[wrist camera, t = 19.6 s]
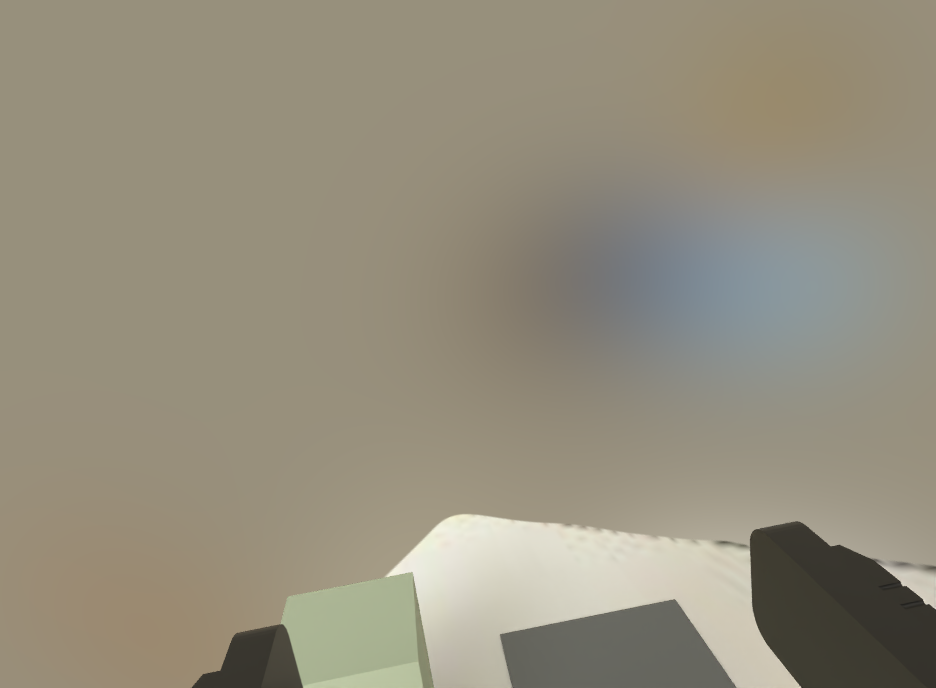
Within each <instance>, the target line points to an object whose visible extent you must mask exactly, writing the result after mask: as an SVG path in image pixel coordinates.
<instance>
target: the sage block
mask: <svg viewBox="0 0 936 688" xmlns="http://www.w3.org/2000/svg"><path fill="white" fill-rule="evenodd" d="M281 624H283V625H284V626H285V627H286V629H287V631H288V634H289V638H290V641H291V645H292V649H293V652H294V656H295V660H296V663H297V667H298V671H299V674H300V678H301V682H302V685H303V688H434V686H433V681H432V675H431V670H430V664H429V659H428V653H427V648H426V642H425V637H424V632H423V626H422V621H421V615H420V610H419V604H418V599H417V594H416V588H415V583H414V577H413V572H411V573H405V574H400V575H395V576H390V577H385V578H380V579H375V580H370V581H366V582H361V583H355V584H350V585H345V586H340V587H335V588H330V589H325V590H320V591H315V592H310V593H305V594H300V595H294V596H290V597H287V601H286V605H285V609H284V613H283V617H282V621H281Z"/></svg>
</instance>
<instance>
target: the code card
mask: <svg viewBox="0 0 936 688" xmlns="http://www.w3.org/2000/svg"><path fill="white" fill-rule="evenodd" d="M500 636H501V641H502V645H503V649H504V653H505V657H506V662H507V666H508V670H509V674H510V678H511V683H512V687H513V688H736V687H735V685H734V684H733V682H732V681H731V679H730V678H729V676H728V675H727V674H726V672H725V671H724V669H723V668H722V666H721V665H720V664H719V662H718V661H717V659H716V658H715V656H714V655H713V653H712V652H711V651H710V649H709V648H708V646H707V645H706V643H705V642H704V640H703V639H702V638H701V636H700V635H699V633H698V632H697V630H696V629H695V627H694V626H693V625H692V623H691V622H690V620H689V619H688V617H687V616H686V614H685V613H684V612H683V610H682V609H681V607H680V606H679V604H678V603H677V602H676V600H675V599H674V600H669V601H664V602H659V603H654V604H649V605H644V606H639V607H634V608H630V609H625V610H620V611H615V612H610V613H605V614H600V615H595V616H590V617H585V618H580V619H575V620H570V621H565V622H560V623H555V624H550V625H545V626H540V627H535V628H530V629H525V630H520V631H515V632H510V633H505V634H500Z"/></svg>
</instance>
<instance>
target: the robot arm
mask: <svg viewBox="0 0 936 688" xmlns="http://www.w3.org/2000/svg"><path fill="white" fill-rule="evenodd" d="M750 556H751V583H752V606H753V613H754V617H755V620H756V623H757V626H758V628H759V630H760V633H761V635H762V637H763V638H764V640H765V642H766V643H767V645H768V646H769V647H770V649H771V650H772V651H773V652H774V654H775V655H776V656H777V657H778V659H779V660H780V661H781V662H782V664H783V665H784V666H785V667H786V669H787V670H788V671H789V672H790V674H791V675H792V676H793V677H794V679H795V680H796V681H797V682H798V684H799V685H800V686H801V687H802V688H936V609H934V608H933V607H932V606H931V605H929V604H928V605H925V603H924V601H923V599H922V598H920V597H919V596H918V595H917V594H915V593H914V592H913V591H912V590H910V589H909V588H908V587H907V586H904V587H903V586H902V585H901V582H900V581H899V580H898V579H897V578H895V577H894V576H893V575H892V574H890V573H889V572H888V571H886V570H885V569H884V568H883V567H881V566H880V565H879V564H878V563H876V562H875V561H874V560H872V559H870V558H867V557H865V556H863V555H861V554H858V553H856V552H854V551H852V550H850V549H847V548H845V547H843V546H841V545H837V546H829V545H828V544H827V543H826V542H824V540H822V539H821V538H820V537H819V536H818V535H816V534H815V533H814V532H813V531H811V530H810V529H809V528H808V527H807V526H806V525H804V524H803V523H801V522H791V523H786V524H781V525H776V526H771V527H766V528H761V529H756V530H754V531H753V532H752V534H751V538H750ZM192 688H303V685H302V682H301V678H300V674H299V671H298V667H297V663H296V660H295V656H294V652H293V649H292V645H291V641H290V638H289V634H288V631H287V629H286V627H285V626H284V625H283V624H279V625H275V626H270V627H265V628H260V629H255V630H250V631H245V632H240V633H236V634H235V635H234V637H233V638H232V641H231V643H230V646H229V649H228V652H227V654H226V657H225V660H224V663H223V665H222V668H221V671H217V672H212V673H207V674H203V675H202V676H201V677H200V679H199V680H198V681H197V682H196V683H195V685H194V686H193V687H192Z"/></svg>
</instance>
